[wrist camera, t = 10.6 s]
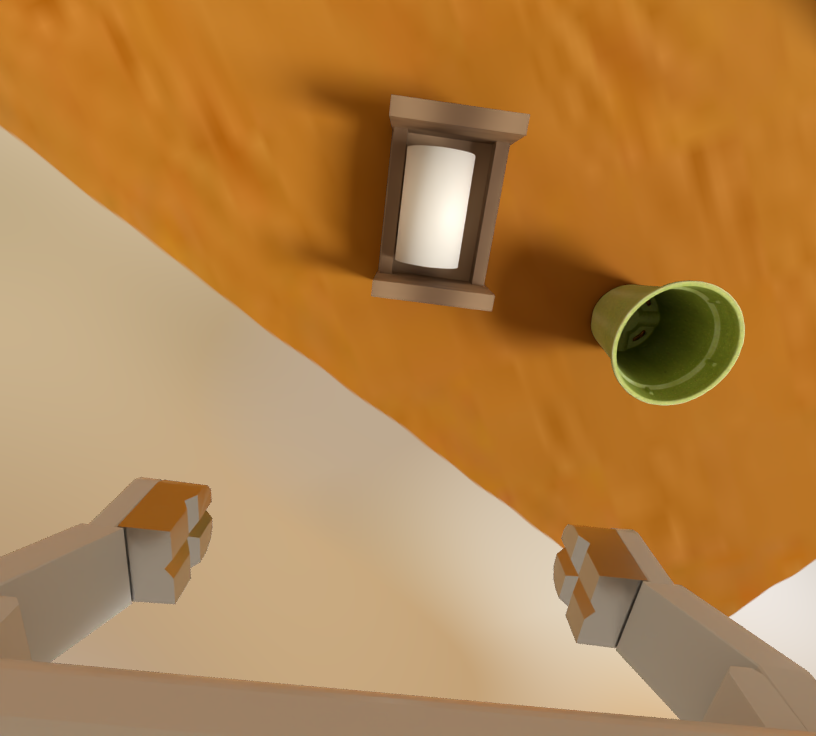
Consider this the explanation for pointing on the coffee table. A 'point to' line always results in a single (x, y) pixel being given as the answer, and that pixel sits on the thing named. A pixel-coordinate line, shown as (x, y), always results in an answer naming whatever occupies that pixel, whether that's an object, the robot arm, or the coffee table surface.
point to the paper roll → (434, 206)
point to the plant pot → (669, 338)
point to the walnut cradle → (490, 145)
